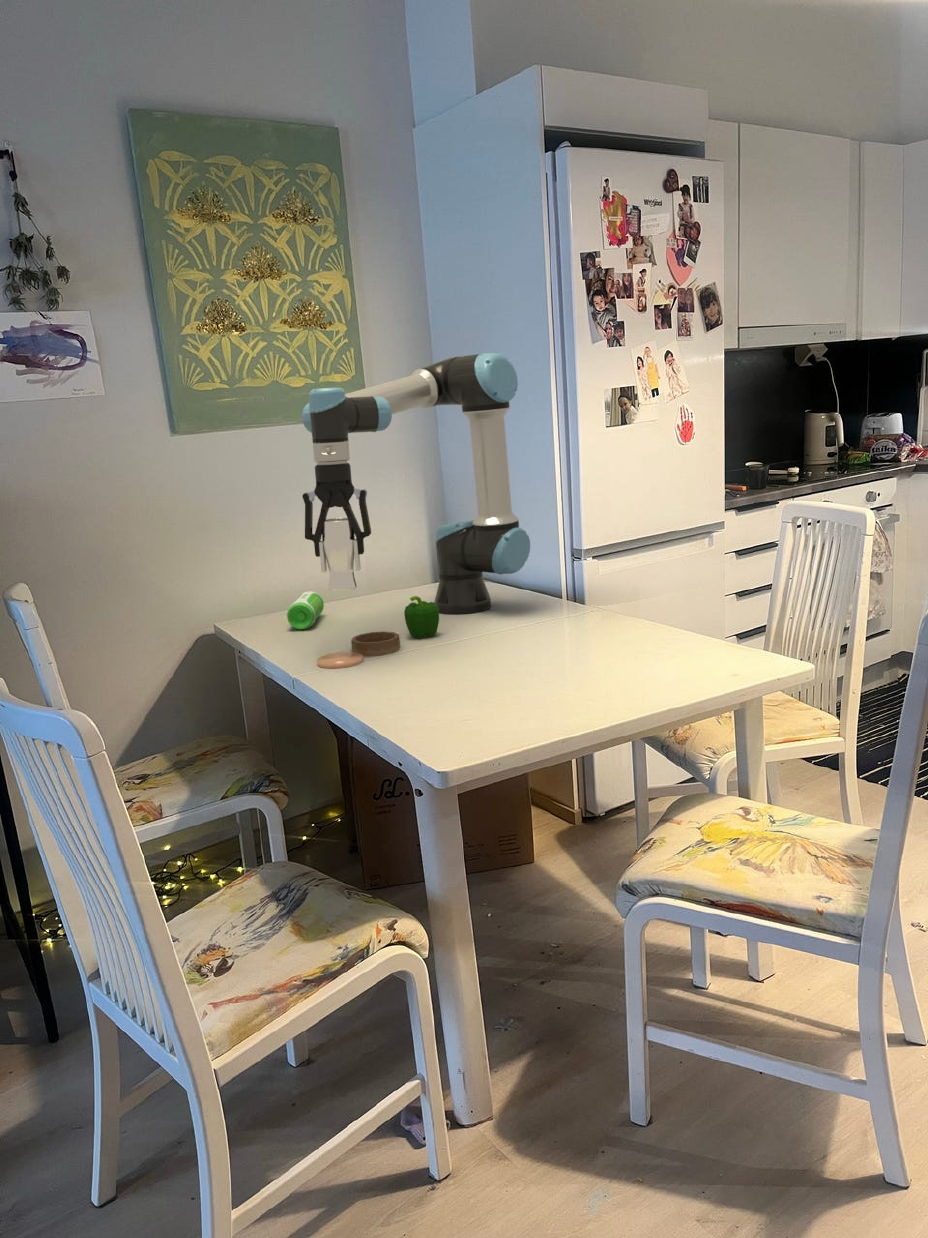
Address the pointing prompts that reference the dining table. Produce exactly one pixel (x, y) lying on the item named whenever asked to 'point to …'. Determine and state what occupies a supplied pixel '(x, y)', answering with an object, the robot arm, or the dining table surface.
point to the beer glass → (339, 553)
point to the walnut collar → (376, 643)
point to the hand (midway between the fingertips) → (341, 570)
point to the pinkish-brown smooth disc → (340, 660)
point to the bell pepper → (422, 618)
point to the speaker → (305, 610)
